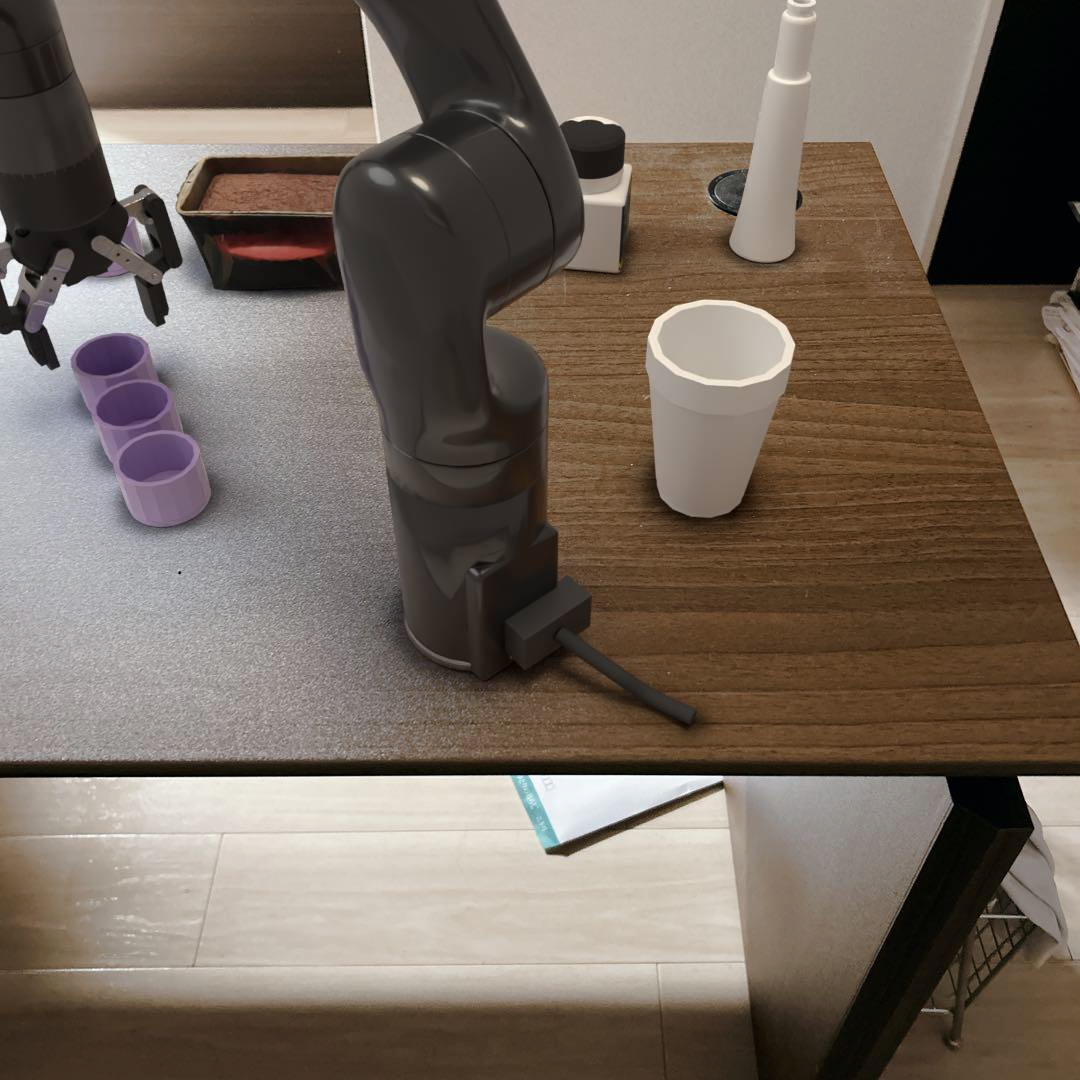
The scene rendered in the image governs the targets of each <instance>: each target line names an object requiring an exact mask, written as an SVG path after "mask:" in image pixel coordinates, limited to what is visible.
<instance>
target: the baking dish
mask: <svg viewBox="0 0 1080 1080" xmlns="http://www.w3.org/2000/svg"><path fill="white" fill-rule="evenodd" d="M359 154H360V153H337V154H333V153H332V154H331V153H330V154H327V153H326V154H325V153H324V154H310V153H309V154H281V153H280V154H216V155H215V154H213V155H208V156H206V157H204V158H201V160H199V161H197V162H196V163H195V164H194V165H193V166H192V167H191V169H190V170H188V172H187V175H186V177H185V180H184V181H183V182H182V184H181V186H180V187H179V192H178V193H176V198H177V199H176V202H175V205H174V206H175V212H176V213H177V214H178V215H179V216H180V217H181V218H182V221H183V222H184V224H185V225H186V227H187V229H188V231H189V232H190V234H191V236H192V238H193V240H194V242H195V244H196V246H197V249H198V251H199V253H200V257H201V258H202V261H203V263H204V265H205V268H206V270H207V272H208V274H209V277H210V279H211V282H212V286H213V289H217V290H223V291H224V290H226V291H227V290H228V291H229V290H230V291H231V290H269V289H270V290H271V289H273V290H274V289H289V288H290V289H291V288H293V289H294V288H313V287H314V288H315V287H330V286H340V285H344V284H343V280H342V275H341V271H340V266H339V261H338V256H337V250H336V245H335V239H334V229H333V198H334V191H335V187H336V183H337V180H338V177H339V175H340V173H341V171H342V169H343V168H344V167H345V166H346V164H347V163H348V162H349V161H350V160H351V159H353V158H354V157H356V156H357V155H359Z"/></svg>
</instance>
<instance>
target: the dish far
mask: <svg viewBox="0 0 1080 1080" xmlns="http://www.w3.org/2000/svg"><path fill="white" fill-rule="evenodd" d="M140 234H141V233H140V231H139V227H138V224H137V220H136V219H135V218H134V217H129V221H128V225H127V228H126V231H125V233H124V236H123V239H122V242H124V243H125V244H126V245H128V246H129V247H131V248H132V249H134V250H135V251H137V252H138V253H140V254H142V255H143V256H146V253H145V250H144V245H143V242H142V238H141V235H140ZM129 272H130V271H128V270H126V269H125V268H123V267H121V266H120V265H118V264H117V263H115V262H113V263H112V265H111V266H110V267H109V268H108V272H106V273H104V274H101V275H98V276H97V277H101V278H102V277H103V278H105V277H115V276H119V275H123V274H126V273H129Z"/></svg>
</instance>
